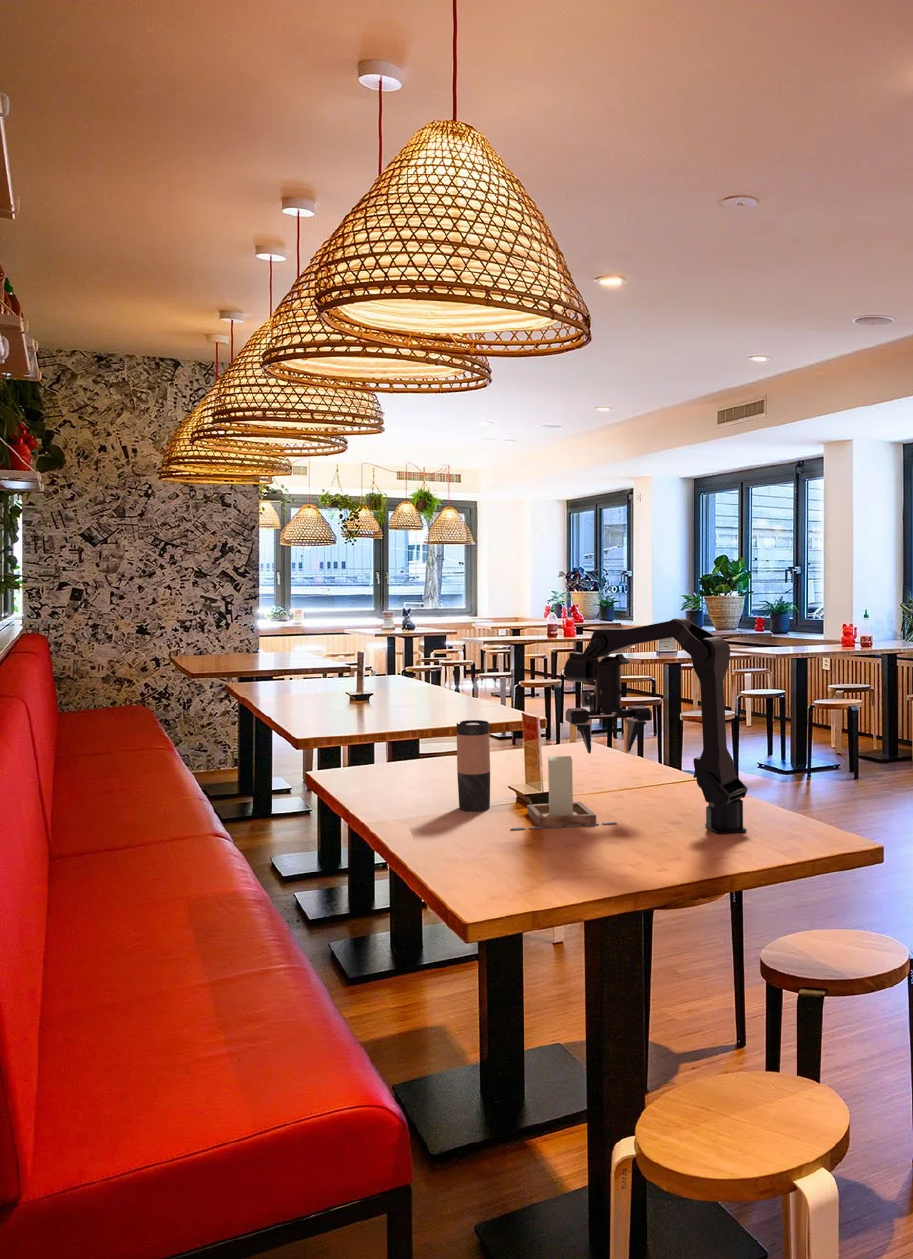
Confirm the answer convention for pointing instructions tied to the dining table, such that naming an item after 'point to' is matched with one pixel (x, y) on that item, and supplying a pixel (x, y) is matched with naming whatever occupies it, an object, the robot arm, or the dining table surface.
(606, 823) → the perforation line
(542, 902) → the dining table surface
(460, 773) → the travel mug
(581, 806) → the stub tray
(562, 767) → the stub block
